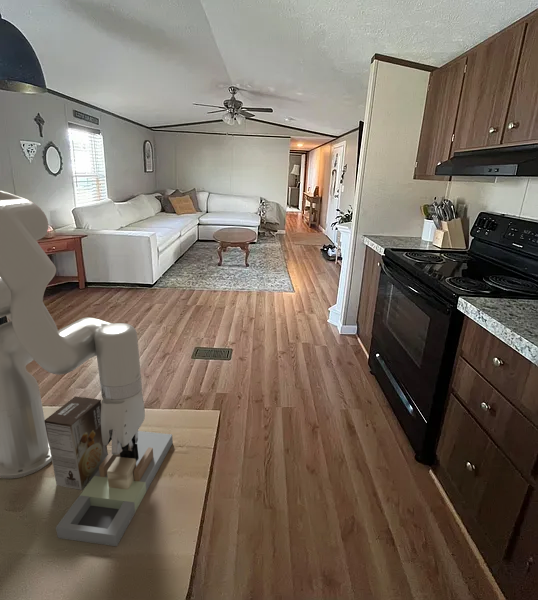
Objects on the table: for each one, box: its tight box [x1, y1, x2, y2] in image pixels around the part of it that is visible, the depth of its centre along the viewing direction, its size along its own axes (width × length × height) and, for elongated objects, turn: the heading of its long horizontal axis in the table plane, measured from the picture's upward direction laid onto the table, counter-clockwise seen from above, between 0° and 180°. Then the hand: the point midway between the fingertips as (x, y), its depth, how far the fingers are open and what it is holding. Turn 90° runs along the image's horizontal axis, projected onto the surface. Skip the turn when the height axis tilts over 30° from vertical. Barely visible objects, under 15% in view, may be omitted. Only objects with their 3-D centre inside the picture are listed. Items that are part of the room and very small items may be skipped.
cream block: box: [107, 457, 136, 489], centre depth 75 cm, size 4×4×4 cm
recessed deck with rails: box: [55, 430, 174, 547], centre depth 78 cm, size 11×27×5 cm, turn 173°
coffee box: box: [44, 396, 109, 491], centre depth 78 cm, size 9×6×16 cm
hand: (130, 461), depth 79 cm, fingers closed
